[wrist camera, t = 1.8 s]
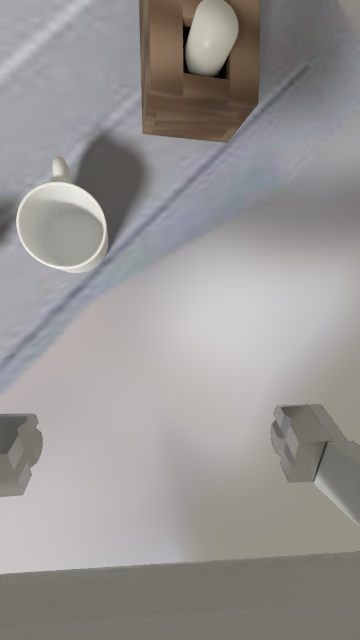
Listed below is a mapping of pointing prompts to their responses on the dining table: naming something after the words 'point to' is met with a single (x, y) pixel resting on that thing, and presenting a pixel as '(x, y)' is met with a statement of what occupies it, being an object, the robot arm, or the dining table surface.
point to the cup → (63, 224)
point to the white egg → (210, 38)
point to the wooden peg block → (194, 90)
